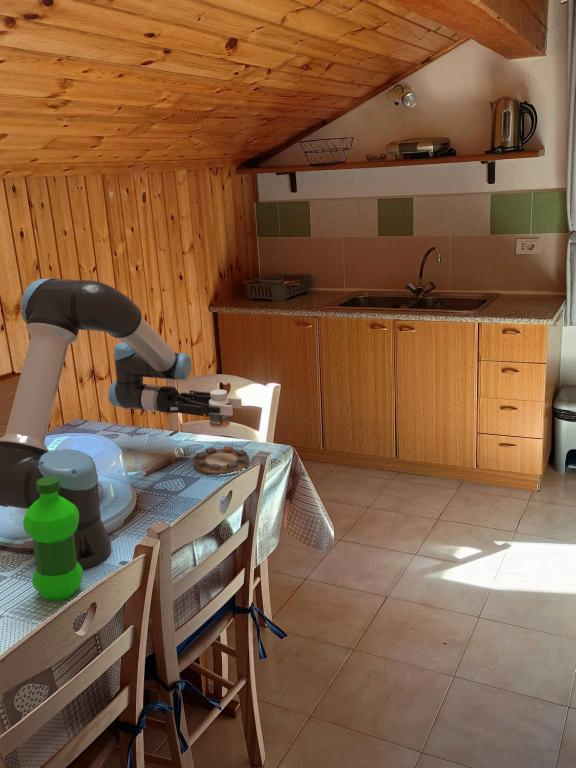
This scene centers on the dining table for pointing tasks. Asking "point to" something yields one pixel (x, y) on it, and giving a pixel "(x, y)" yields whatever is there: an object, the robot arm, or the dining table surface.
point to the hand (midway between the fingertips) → (236, 407)
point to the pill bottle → (217, 419)
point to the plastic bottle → (53, 541)
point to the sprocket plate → (220, 461)
